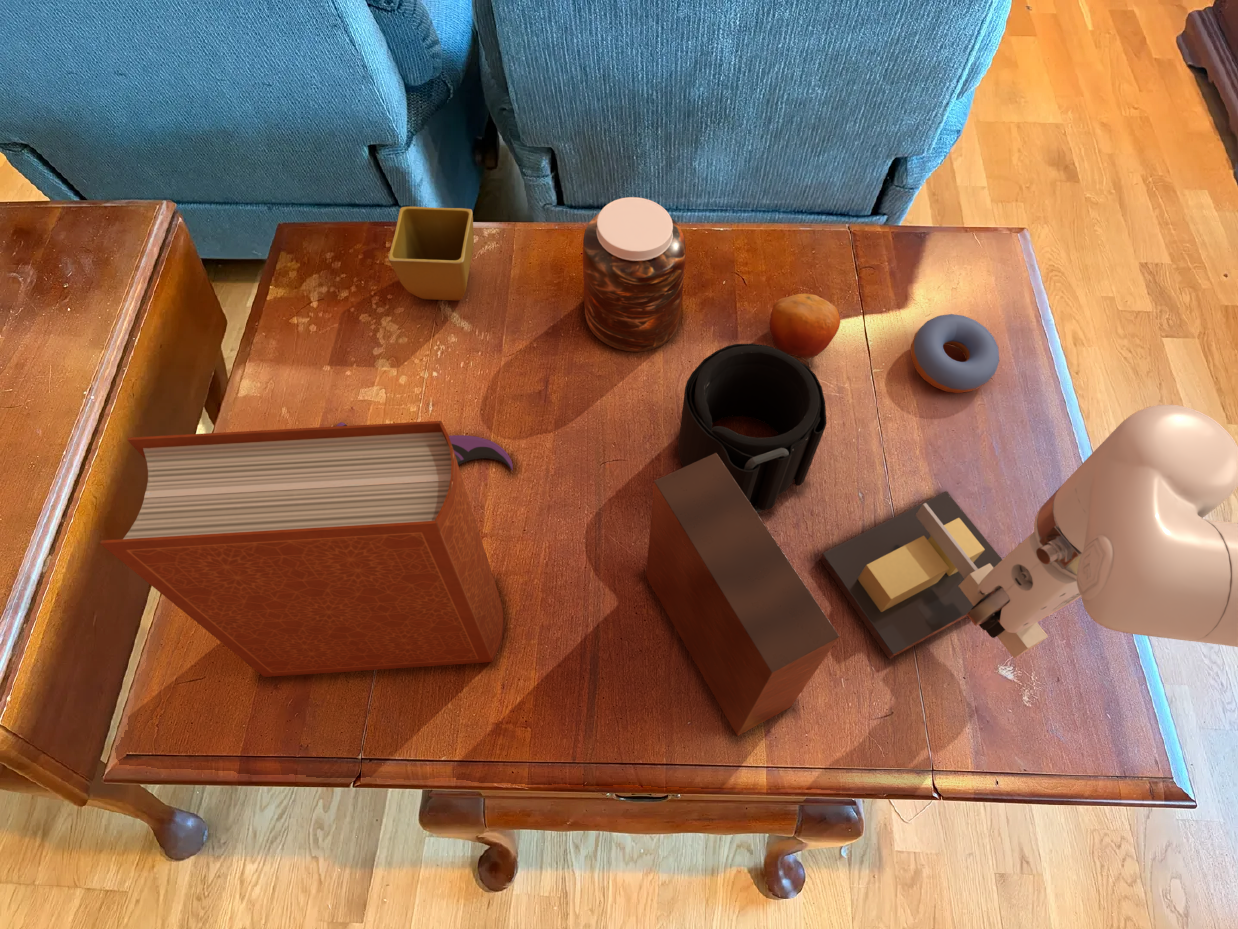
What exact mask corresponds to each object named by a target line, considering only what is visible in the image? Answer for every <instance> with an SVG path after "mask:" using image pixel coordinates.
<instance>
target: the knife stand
mask: <svg viewBox="0 0 1238 929" xmlns="http://www.w3.org/2000/svg"><path fill="white" fill-rule="evenodd" d="M753 506H754V505H752V503H750V502H749V500H748V499H747V497H746V496H745V494H744V493H743V491H742V490H741V489H740V487H739V486H738V484H737V483H736V481H735V480H734V478H733V477H732V475H731V474H730V472H729V471H728V469H727V468H726V466H725V465H724V463H723V462H722V460H721V459H720V457H719V456H718V454H717V453H714V454H712V455H710V456H708V457H706V458H703V459H701V460H699V461H697V462H694V463H692V464H690V465H688V466H686V467H683V466H682V468H679V469H677V470H675V471H672V472H670V473H668V474H666V475H664V476H662V477H660V478H657V479H655V480H653V488H652V501H651V513H650V523H649V524H650V525H649V536H648V548H647V559H646V560H647V561H646V572H645V578H646V579H647V581H648V583H649V585H650V586H651V588H652V590H653V592H654V593H655V595H656V597H657V599H658V600H659V602H660V604H661V606H662V607H663V609H664V611H665V613H666V614H667V616H668V618H669V620H670V622H671V623H672V625H673V627H674V629H675V630H676V632H677V634H678V635H679V637H680V639H681V641H682V643H683V644H684V646H685V648H686V649H687V651H688V653H689V655H690V656H691V658H692V660H693V661H694V664H695V666H696V667H697V668H698V670H699V672H700V674H701V676H702V678H703V679H704V681H705V683H706V684H707V686H708V687H709V689H710V691H711V693H712V695H713V697H714V698H715V700H716V702H717V703H718V705H719V707H720V708H721V711H722V713H723V714H724V716H725V717H726V719H727V721H728V723H729V724H730V727H731V728H732V730H733V731H734V734H735V735H736V736H737V737H738V736H741V735H743V734H744V733H746V732H748V731H749V730H751V729H754V728H755V727H757V726H759V725H761V724H763V723H764V722H766V721H768V720H770V719H771V718H773V717H775V716H777V715H779V714H781V713H783V712H784V711H786V710H788V709H790V708H791V707H792V706H793V704H795V702H796V700H797V699H798V697H799V696H800V694H801V693H802V692H803V690H804V689H805V687H806V686H807V684H808V683H809V681H810V680H811V679H812V678H813V676H814V674H816V671H817V670H818V669H819V667H820V666H821V664H822V663H823V661H824V660H825V659H826V657H827V656H828V654H829V653H830V652H831V650H832V648H833V647H834V646H835V644H836V643H837V641H838V640H839V639H840V637H841V636H840V634H839V632H838V631H837V629H836V628H835V627H834V626H833V624H832V622H831V620H830V619H829V618H828V616H827V615H826V613H825V611H824V610H823V609H822V607H821V606H820V605H819V603H818V601H817V600H816V598H815V597H814V595H813V593H811V591H810V590H809V588H808V586H807V585H806V584H805V582H804V581H803V579H802V577H801V576H800V574H799V573H798V572H797V570H796V568H795V567H794V566H793V564H792V562H791V561H790V560H789V558H788V557H787V555H786V553H785V552H784V551H783V549H782V548H781V547H780V544H778V542H777V540H776V539H775V538H774V536H773V535H772V533H771V532H770V530H769V529H768V527H767V526H766V524H765V522H764V521H763V519H762V518H761V517H760V515H759V514H758V513H757V512H756V511H755V509H754V508H753Z"/></svg>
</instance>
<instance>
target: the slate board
mask: <svg viewBox="0 0 1238 929" xmlns="http://www.w3.org/2000/svg"><path fill="white" fill-rule="evenodd" d="M924 503H926V504H927V505H928V506H929V507H930V509H931V510H932V511H933V512H934V514H935V515H936V516H937V518H938V519H939V520H940V521H941V523H942V524H943V525H945V524H947V523H949V522H951V521H953V520H955V519H957V518H960V519H961V521H962V522H963V523H964V524H965V526H966V527H967V528H968V529H969V530H970V532H971V533H972V534H973V535H974V537H975V538H976V539H977V540H978V542H979V543H980V544H981V545H982V547H983V548H984V549H985V550H984V551H983V552H982V553H981V554H980V556H979V557H978V558H977V559H976V560H975V561H974V562H973V563H974V565H975V566H976V567H977V568H978V569H980V568H981V567H983V566H985V565H987V564H989V563H990V564H991V565H992V567H993V568H994V567H995V566H996V565H997V564H999V563H1000V562H1001V561H1002V560H1003V558H1002V557H1001V556H1000V554H999V553H998V552H997V551H996V549H994V547H993V546H992V545H991V543H990V542H989V541H988V540H987V538H986V537H984V535H983V533H981V531H980V530H979V529H978V528H977V527H976V525H975V524H974V523H973V521H972V520H971V519H970V518H969V517H968V515H967V514H966V513H965V512H964V510H963V509H962V508H961V507H960V505H958V503H957V501H955V499H954V498H953V497H952V496H951V494H950V493H949V492H948V491H947V490H946V491H943V492H942V493H940V494H939V493H938V494H937V495H935V496H933V497H931V498H929V499H927V500H925V501H923V502H922V503H919V504H917V505H915V506H913V507H912V508H909V509H907V510H906V511H903V512H902V513H899V514H897V515H896V516H894V517H892V518H890V519H888V520H885V521H884V522H883V521H882V523H879V524H877V525H875V526H873V527H871V528H870V529H868V530H865V531H863V532H862V533H859V534H857V535H856V536H854V537H852V538H850V539H848V540H845V541H844V542H841V543H839V544H837V545H836V546H834V547H832V548H829V549H827V550H825V551H824V552H822V554H821V555H820V557H819V560H820V562H821V563H822V565H823V566H824V568H825V569H826V571H827V572H828V573H829V575H830V576H831V578H832V579H833V581H834V582H835V584H836V585H837V586H838V588H839V589H840V592H842V594H843V595H844V597H845V598H846V599H847V601H848V602H849V604H850V605H851V607H852V608H853V609H854V611H855V612H856V613H857V615H858V617H859V618H860V620H861V621H862V622H863V624H864V626H865V627H866V629H867V630H868V632H870V634H871V635H872V637H873V639H875V641H876V642H877V645H879V648H881V650H882V652H883V653H884V654H885V656H886V657H887V658H888V659H889V660H891V659H892V658H894V657H895V656H898V655H900V654H901V653H904V651H907V650H909V649H910V648H912V647H914V646H916V645H918V644H919V643H921V642H923V641H925V640H926V639H928V638H930V637H932V636H934V635H936V634H938V633H940V632H941V631H943V630H945V629H947V628H948V627H950V626H952V625H954V624H956V623H957V622H959V621H961V620H963V619H965V618H966V617H967V618H968V616H967V615H966V614H967V613H968V612H969V611H971V609H972V608H973V607H974V606H973V604H972V603H971V602H970V600H969V599H968V598H967V597H966V595H965V594H964V593H963V591H962V590H961V589H960V587H959V585H960V584H961V583H962V581H963V580H964V577H963V576H962V575H961V574H960V572H959V571H958V572H956V573H954V574H952V575H950V576H948V574H947V573H945V574H944V575H943V576H942V578H941V579H940V580H939V581H938V582H937V583H935V584H933V585H932V586H930V587H928V588H926V589H924V590H922V591H920V592H918V593H917V594H915V595H913V596H911V597H909V598H907V599H905V600H903V601H902V602H900V603H898V604H896V605H894V606H892V607H890V608H888V609H887V610H885V611H883V612H881V611H880V610H879V609H878V607H877V606H876V604H875V603H874V602H873V600H872V599H871V597H870V596H869V594H868V593H867V592H866V590H865V589H864V587H863V586H862V585H861V583H860V582H859V580H858V577H859V576H860V574H861V573H862V571H863V570H864V568H865V567H866V565H867V564H869V563H871V562H873V561H875V560H877V559H879V558H881V557H883V556H885V555H887V554H889V553H891V552H893V551H895V550H897V549H898V548H900V547H902V546H904V545H906V544H908V543H910V542H912V541H914V540H916V539H918V538H920V537H922V536H925V537H926V539H927V540H928V539H929V538H930V536H931V535H930V534H929V532H928V531H927V530H926V528H925V527H924V526H923V524H922V523H921V522H920V521H919V519H918V518H917V517H916V514H917V512H918V511H919V509H920V508H921V506H922V505H923V504H924Z"/></svg>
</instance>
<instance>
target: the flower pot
mask: <svg viewBox="0 0 1238 929" xmlns="http://www.w3.org/2000/svg"><path fill="white" fill-rule="evenodd" d="M473 214H474V213H473V210H472V209H471V208H463V207H429V206H426V207H425V206H401V207H400V209H399V211H398V216H397V222H396V227H395V232H394V236H393V239H392V241H391V246H390V250H389V253H388V262H389V263H390V265H391V267H392V268H393V271H394V272H395V275H396V277H397V278H398V281H399V282H400V284H401V285H402V287H403V288H404V289H405V290H406V291H407V292H408V293H410V294H411V295H413V296H415V297H417V298H419V299H422V300H433V301H435V300H436V301H437V300H438V301H461V300H462V299H463V298H464V296H465V294H466V291H467V286H468V281H469V274H470V268H471V263H472V258H473V254H474V253H473V252H474V246H475V245H474V244H475V235H474V234H475V232H474V215H473Z"/></svg>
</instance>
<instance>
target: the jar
mask: <svg viewBox="0 0 1238 929" xmlns="http://www.w3.org/2000/svg"><path fill="white" fill-rule="evenodd" d="M686 249H687V248H686V239H685V236H684V232H683V230H682V229H681V227H680V225H679V224H678V223H677V222H676V220H674V218H673V217H671V215H670V214H669V212H668V210H666V209H665V208H664V207H663V206H662V205H660V204H658V203H657V202H655V201H653V200H651V199H648V198H645V197H638V196H637V197H636V196H630V197H628V196H627V197H621V198H618V199H615V200H613V201H611V202H609V203H607V204H606V205H605V206H603V207H602V209H601V210H600V212H598V213H597V214H595V216H594V217H593V218H592V219H591V220H590V221H589V222H588V224H587V226H586V228H585V230H584V233H583V238H582V276H583V277H582V278H583V299H584V300H583V301H584V314H585V315H584V316H585V321H586V323H587V326H588V328H589V330H590V331H591V333H592V334H593V335H594V336H595V337H596V339H598V340H599V341H601V342H602V343H604V344H605V345H607V346H609V347H611V348H613V349H615V350H619V351H623V352H632V353H634V352H637V353H638V352H647V351H651V350H654V349H656V348H659V347H661V346H662V345H664V344H666V343H667V342H668V341H670V339H671V338H672V337H673V336H674V335H675V333H676V332H677V330H678V327H679V324H680V318H681V312H682V303H683V302H682V301H683V290H684V281H685V280H684V279H685V269H686V251H687V250H686Z"/></svg>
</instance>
